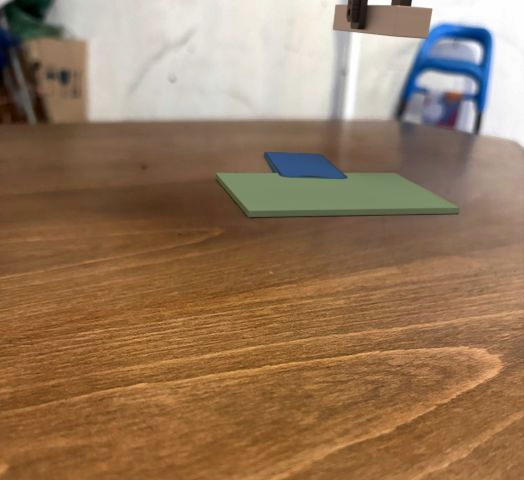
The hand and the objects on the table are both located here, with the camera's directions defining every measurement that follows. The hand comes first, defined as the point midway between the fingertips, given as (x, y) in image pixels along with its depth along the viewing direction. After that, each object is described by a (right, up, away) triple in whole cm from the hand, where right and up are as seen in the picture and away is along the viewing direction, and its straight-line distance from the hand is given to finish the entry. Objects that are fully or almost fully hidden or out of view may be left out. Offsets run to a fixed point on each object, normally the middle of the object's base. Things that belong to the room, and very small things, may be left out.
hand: (376, 29), depth 67 cm
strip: (0, 0, 0) cm, 0 cm away
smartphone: (-7, -12, +9) cm, 16 cm away
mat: (-5, -17, -2) cm, 18 cm away
